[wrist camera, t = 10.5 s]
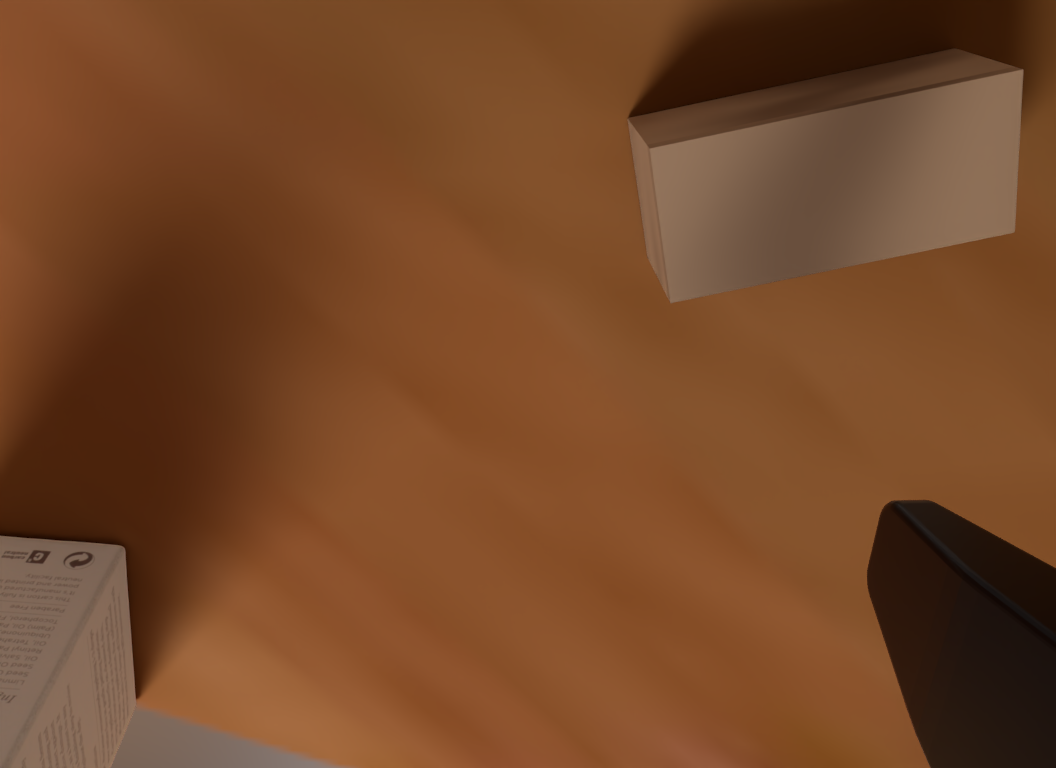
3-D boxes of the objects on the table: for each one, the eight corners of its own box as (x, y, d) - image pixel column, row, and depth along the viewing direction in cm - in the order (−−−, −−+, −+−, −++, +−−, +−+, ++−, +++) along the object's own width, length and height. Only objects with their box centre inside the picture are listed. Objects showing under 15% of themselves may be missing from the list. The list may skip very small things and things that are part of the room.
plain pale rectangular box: (955, 48, 20) (1023, 69, 17) (952, 194, 21) (1014, 232, 19) (627, 118, 20) (649, 148, 17) (647, 257, 21) (670, 302, 19)
